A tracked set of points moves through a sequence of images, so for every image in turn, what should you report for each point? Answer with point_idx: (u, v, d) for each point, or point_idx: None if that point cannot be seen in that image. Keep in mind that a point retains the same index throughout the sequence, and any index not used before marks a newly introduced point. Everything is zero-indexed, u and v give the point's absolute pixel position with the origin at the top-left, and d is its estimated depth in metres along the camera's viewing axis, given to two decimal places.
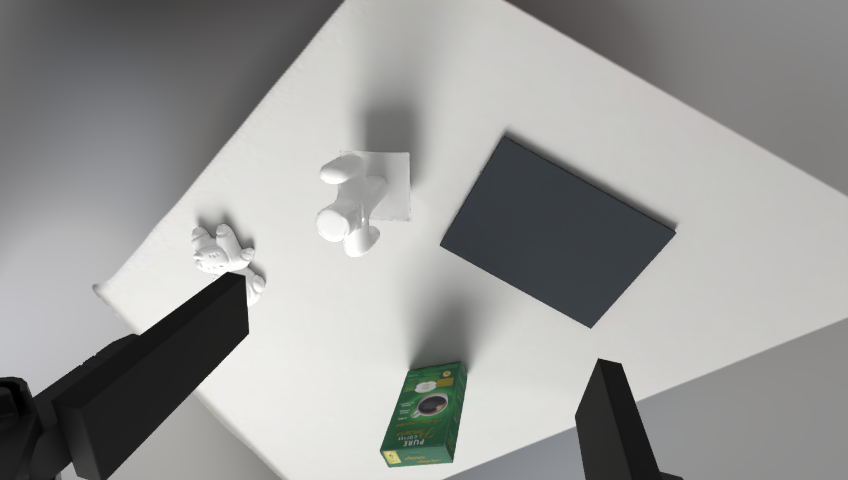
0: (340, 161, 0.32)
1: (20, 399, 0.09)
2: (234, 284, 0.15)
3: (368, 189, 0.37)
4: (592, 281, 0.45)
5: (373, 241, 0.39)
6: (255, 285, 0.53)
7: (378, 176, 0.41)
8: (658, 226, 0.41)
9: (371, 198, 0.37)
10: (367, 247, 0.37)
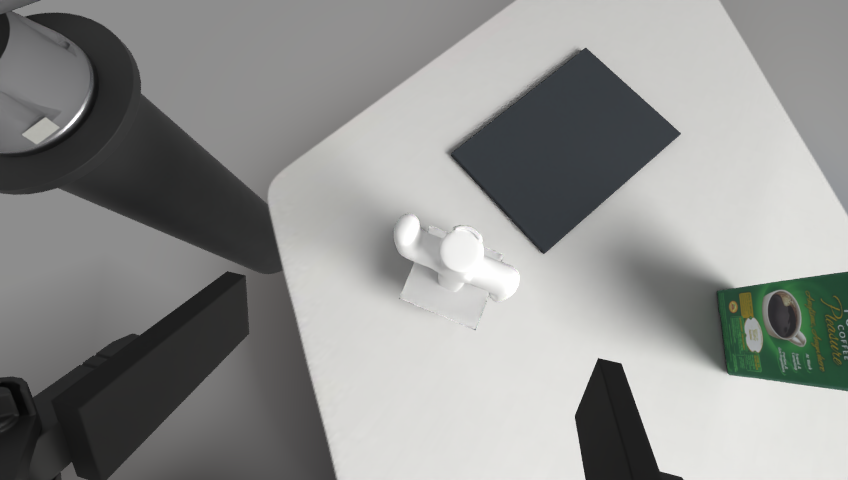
0: None
1: (20, 399, 0.09)
2: (234, 284, 0.15)
3: None
4: (622, 119, 0.43)
5: None
6: None
7: None
8: (575, 58, 0.45)
9: None
10: None
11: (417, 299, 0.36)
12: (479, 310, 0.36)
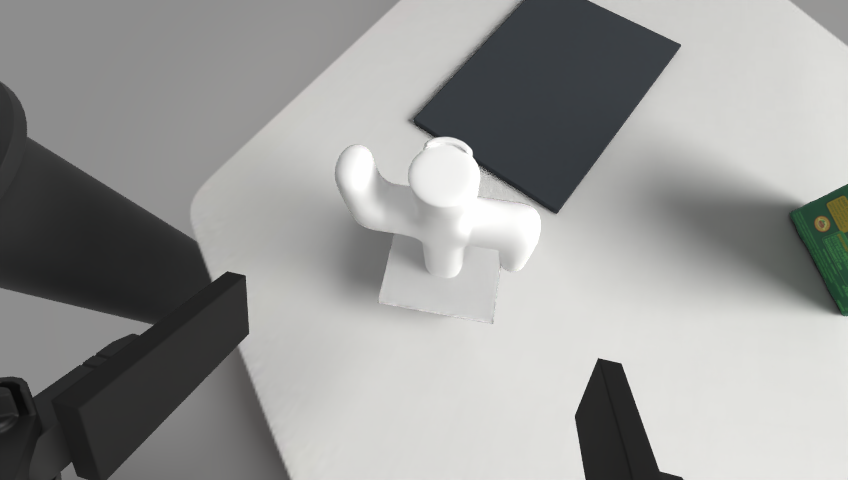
0: None
1: (20, 399, 0.09)
2: (234, 284, 0.15)
3: None
4: (608, 43, 0.36)
5: None
6: None
7: None
8: None
9: None
10: None
11: (403, 299, 0.26)
12: (491, 295, 0.25)
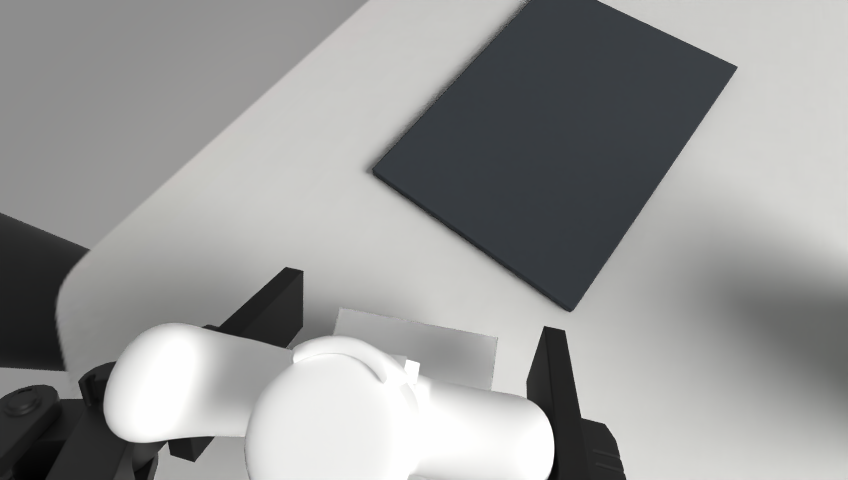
0: None
1: None
2: (294, 279, 0.15)
3: None
4: (638, 63, 0.27)
5: None
6: None
7: None
8: None
9: None
10: (519, 399, 0.11)
11: None
12: None
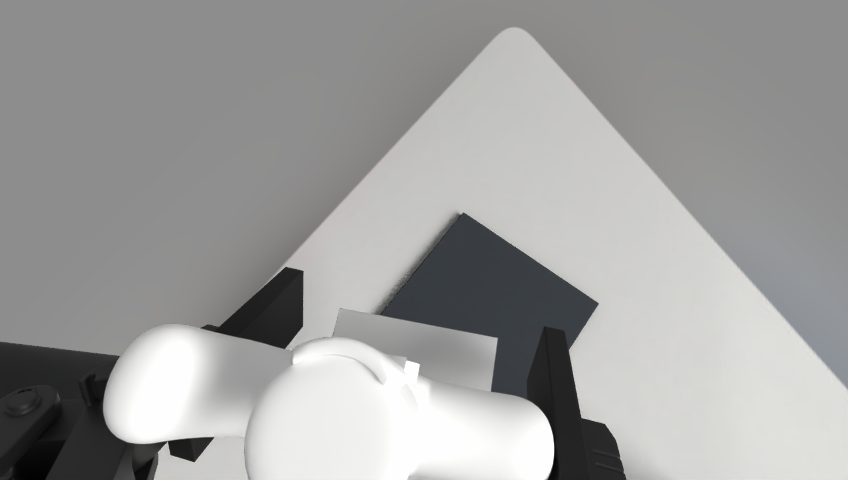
0: None
1: None
2: (294, 279, 0.15)
3: None
4: (523, 298, 0.35)
5: None
6: None
7: None
8: (453, 229, 0.37)
9: None
10: (519, 399, 0.11)
11: None
12: None
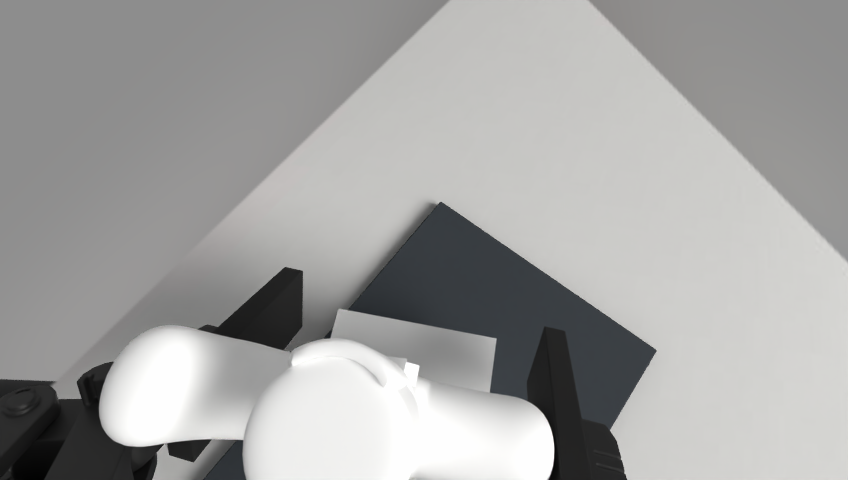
0: None
1: None
2: (294, 279, 0.15)
3: None
4: (533, 340, 0.21)
5: None
6: None
7: None
8: (425, 227, 0.24)
9: None
10: (519, 400, 0.10)
11: None
12: None
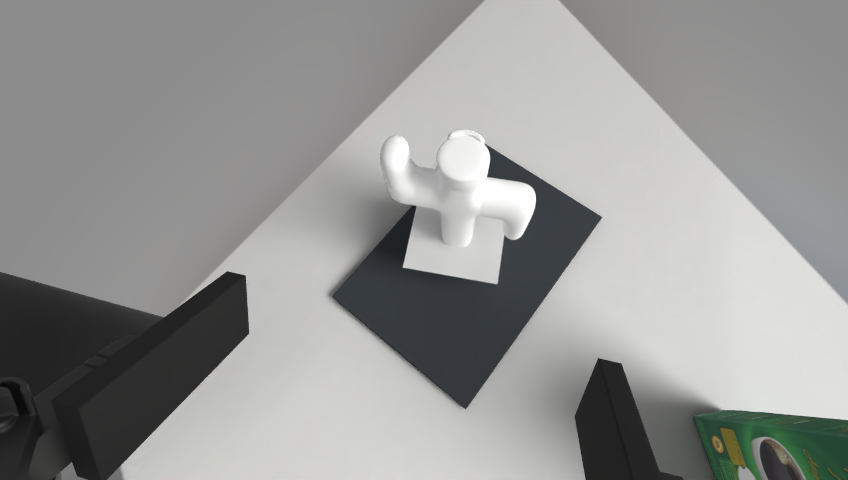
0: None
1: (20, 399, 0.09)
2: (234, 284, 0.15)
3: None
4: None
5: None
6: None
7: None
8: None
9: None
10: None
11: (424, 264, 0.31)
12: (496, 262, 0.31)
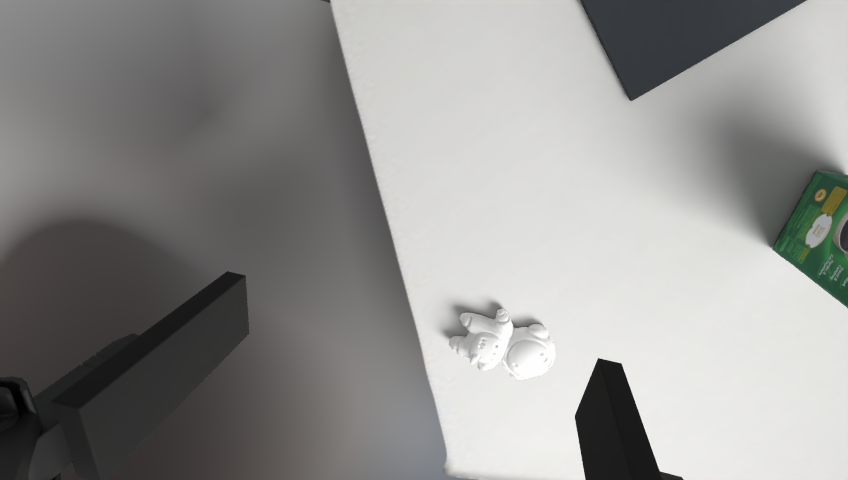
0: None
1: (20, 399, 0.09)
2: (234, 284, 0.15)
3: None
4: None
5: None
6: (537, 334, 0.45)
7: None
8: None
9: None
10: None
11: None
12: None
